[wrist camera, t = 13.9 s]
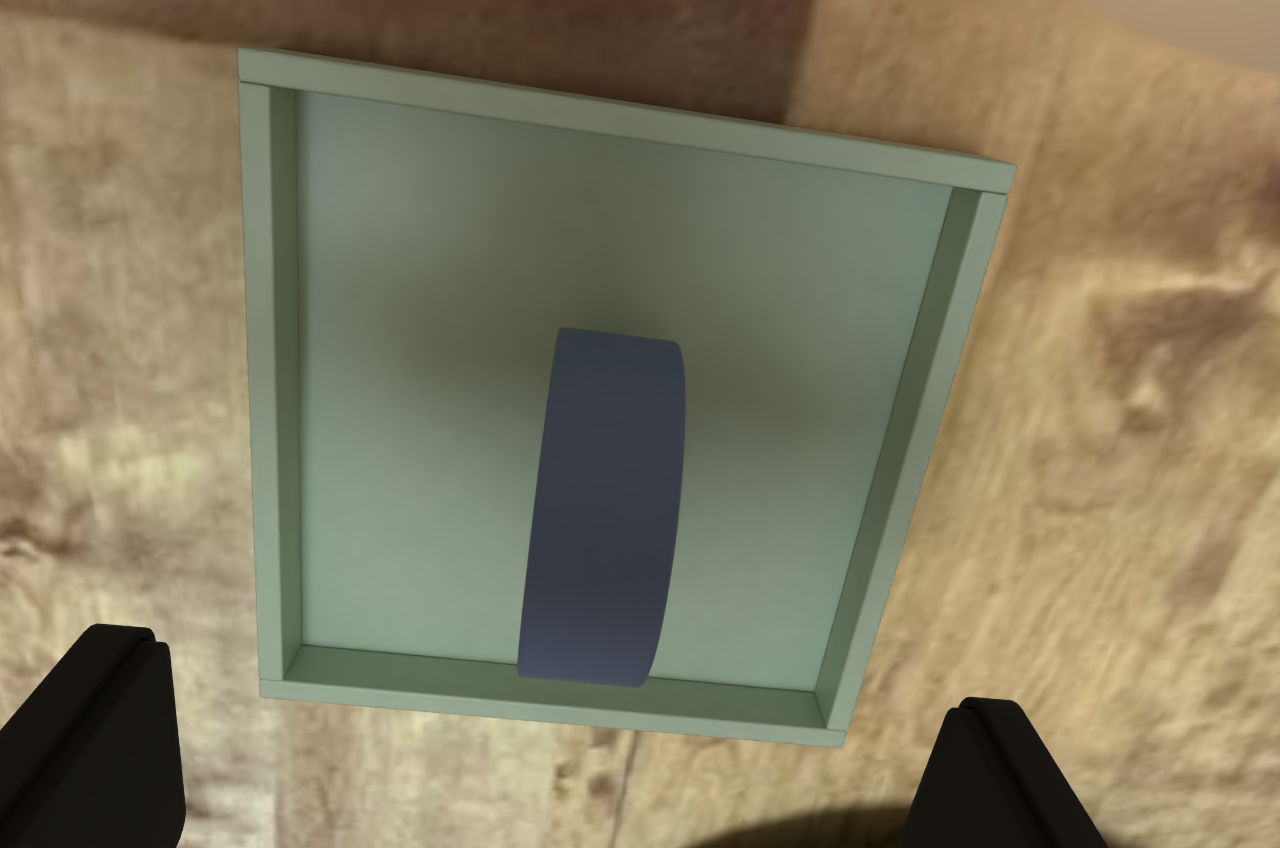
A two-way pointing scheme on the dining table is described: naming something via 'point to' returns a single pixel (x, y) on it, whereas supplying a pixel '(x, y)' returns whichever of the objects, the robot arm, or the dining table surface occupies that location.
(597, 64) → the dining table surface
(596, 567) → the disc
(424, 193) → the tray
